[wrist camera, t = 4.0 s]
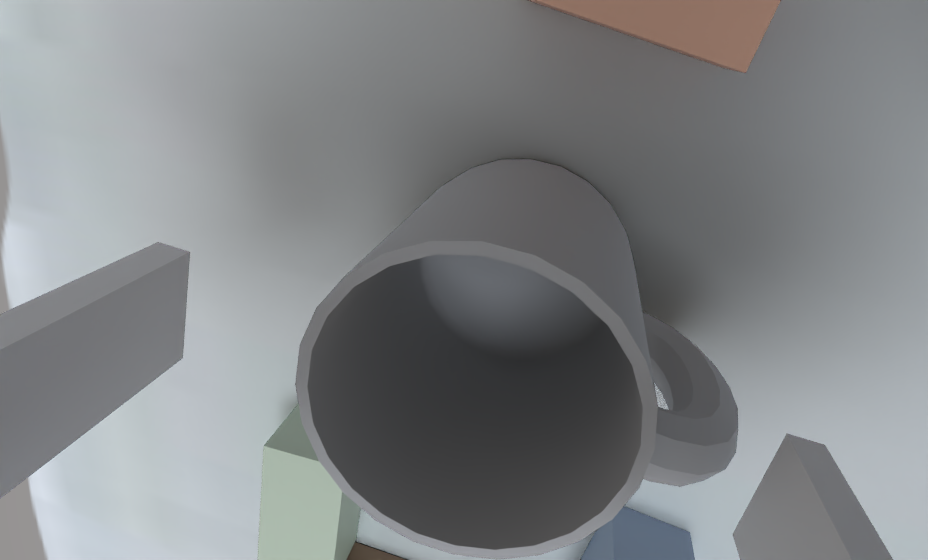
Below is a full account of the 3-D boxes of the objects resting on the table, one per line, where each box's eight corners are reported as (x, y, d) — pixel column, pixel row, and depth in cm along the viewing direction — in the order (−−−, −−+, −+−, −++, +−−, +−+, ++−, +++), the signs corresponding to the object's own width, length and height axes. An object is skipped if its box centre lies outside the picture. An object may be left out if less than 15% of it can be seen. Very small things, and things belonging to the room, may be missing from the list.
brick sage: (301, 400, 24) (263, 445, 22) (373, 419, 24) (344, 468, 21) (291, 516, 27) (256, 571, 24) (357, 536, 26) (329, 593, 24)
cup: (452, 119, 19) (344, 178, 11) (761, 240, 19) (889, 398, 10) (387, 314, 22) (264, 476, 14) (652, 424, 21) (686, 660, 13)
